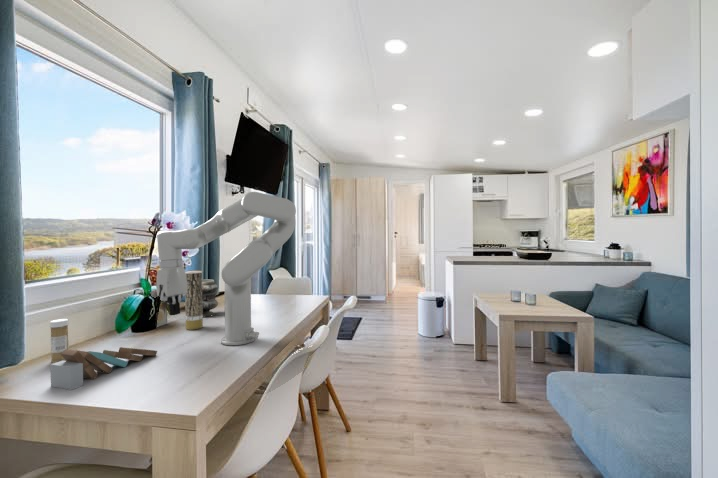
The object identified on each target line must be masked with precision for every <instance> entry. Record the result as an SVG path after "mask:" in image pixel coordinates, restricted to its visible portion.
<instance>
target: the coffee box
mask: <svg viewBox="0 0 718 478" xmlns="http://www.w3.org/2000/svg"><path fill="white" fill-rule="evenodd" d="M151 290H152V292H150V294H151V296H152V297H154V298H156V297H158V296H157V289H151ZM143 292H144V291H141V292H139V295H140V294H143ZM167 324H168V303H167V302H166V301H161V304H160V309H159V315H158V320H157V326H158V327H157V328H159V327H161V326H164V325H167Z"/></svg>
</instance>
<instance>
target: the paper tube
mask: <svg viewBox="0 0 718 478" xmlns="http://www.w3.org/2000/svg"><path fill="white" fill-rule="evenodd" d="M185 273H186V278H187V291H186V295H185V296H184V299H185V300H184V301H185V302H184V303H185V304H184V305H185V306H184V307H185V309H184V310H185V311H184V312H185V328H186V329H187V330H191V331H194V330H199V329H202V328H203V324H204V323H203V321H204V320H203V318H204V317H203V308H202V280H203V272H202V270H188V271H187V270H186V271H185Z"/></svg>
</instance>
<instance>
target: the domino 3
mask: <svg viewBox="0 0 718 478" xmlns="http://www.w3.org/2000/svg"><path fill="white" fill-rule="evenodd" d="M87 352H89V353H90V354H92V355H93V356H95V357H96V358H98V359H99V360H101V361H102V362H104V363H106V364H107V365H110V366H115V367H120V368H121V367H122V368H126V367H127V365H128V363H129V362H128V360H125V359H121V358H115V357H112V356H109V355H106V354H103V352H99V351H93V350H92V351H90V350H88V351H87Z"/></svg>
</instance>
